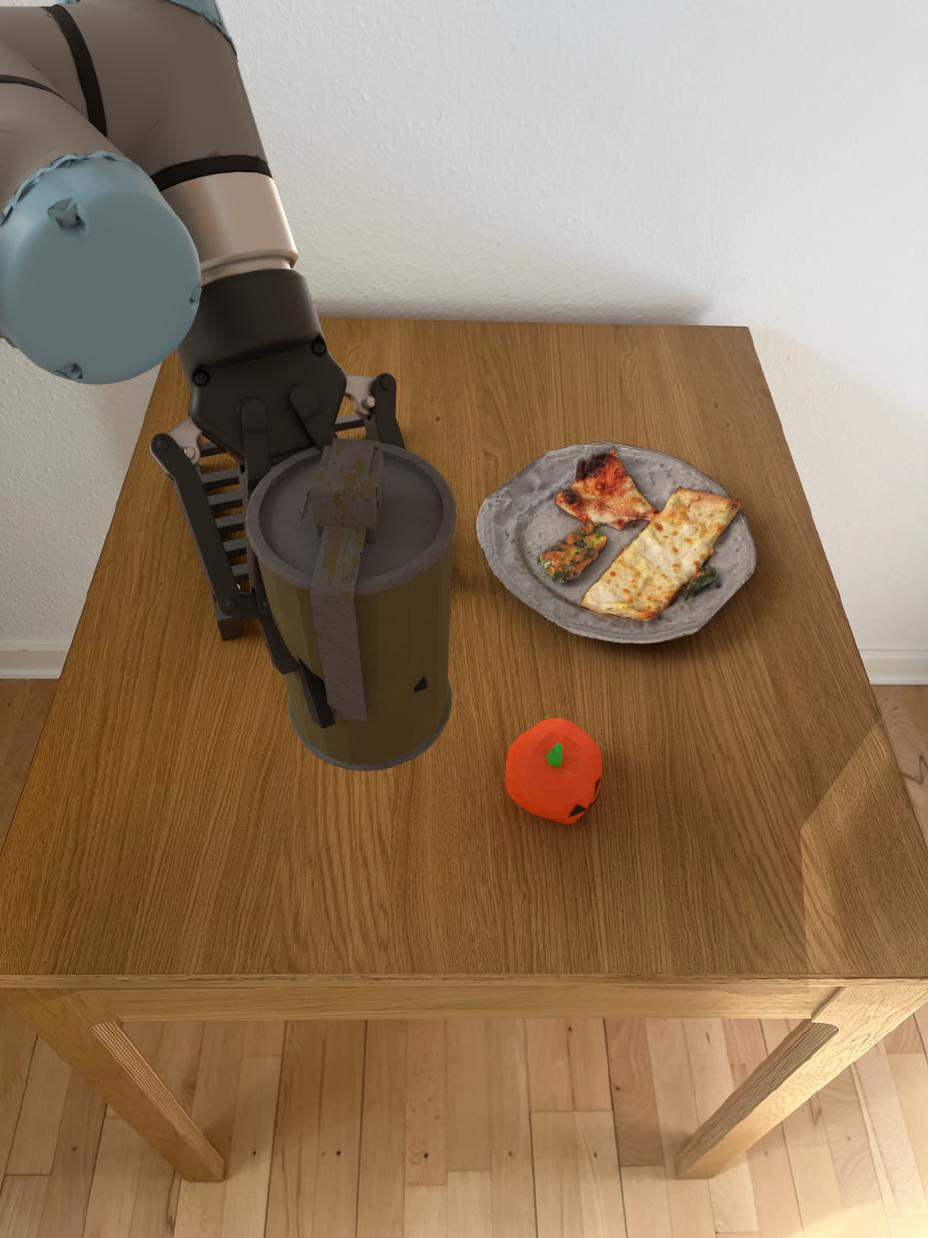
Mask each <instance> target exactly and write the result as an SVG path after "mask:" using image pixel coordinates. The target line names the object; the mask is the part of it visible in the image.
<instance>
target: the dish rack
mask: <svg viewBox="0 0 928 1238" xmlns="http://www.w3.org/2000/svg"><path fill="white" fill-rule="evenodd" d="M359 428H365V425H364V417H360V416H358V415H357V414H356V413H354V414H348V415H343V416H337V420H336V423H335V426H334V429H333V430H334V431H335V433H339V432H343V431H349V430H353V429H359ZM197 445H198V448H199V450H200V459H202V458H207V457H212V456H218V455H222V454H227V453H226V452H224V451H223V450H222V449H220V448H219V447H218V446H216V445H215V444H214V443H212V442H211V441H210V440H208V441H205V442H203V438H202V434H200V435H199V436H198V438H197ZM194 466H195V468H196V470H197V472H198V474H199V476H200V478H201V481H202V483H203V486H204V489H205V492H206V493H207V491H211V490H217V489H221V488H226V487H231V486H236V485H240V482H239V471H238V467H233V468H229V469H224V470H220V471H214V472H208V473H204V474H202V471H201V466H200V463H199V461H198V462H197V463H196V464H195V465H194ZM274 467H275V466H274ZM274 467H272V468H271V470H272V469H273V468H274ZM207 498H208V501H209V504H210V507H211V510H212V513H213V514H214V513H217V512H221V511H226V510H233V509H237V508H241V507H242V508H243V503H242V492H241V489H238V490H233V491H229V492H224V493H219V494H218V493H217V494H213V495H209V496H208V495H207ZM215 521H216V524H217V527H218V530H219V533H220V536H223V535H227V534H231V533H237V532H242V531H245V526H244V514H243V512H242V513H236V514H233V515H228V516H222V517H217V518H215ZM222 542H223V545H224V548H225V550H226V553H227V556H228V559H229V560H230V559H235V558H238V557H243V556H247V549H246V538H245V537H240V538H236V539H231V540H227V541H222ZM231 568H232V571H233V574H234V577H235V580H236V582H237V585H238V588H239V591H240V593H242V590H241V586H240V585H239V583H244V582H249V572H248V562H245V563H241V564H237V565H231ZM209 593H210V596H211V601H212V605H213V610H214V616H215V620H216V623H217V627H218V632H219V635H220V639H221V641H225V640H231V639H234V638H238V637H241V636H242V634H241V629H240V625H239V624H244V623H248V622H253V621H256V619H254V618H253V617H249V616H233V617H230V616H226V615H224V614H222V613H221V612H219V611H218V610H217V608H216V606H215V603H214V600H213V597H212V594H211V592H210V591H209Z"/></svg>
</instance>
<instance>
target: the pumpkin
mask: <svg viewBox="0 0 928 1238" xmlns="http://www.w3.org/2000/svg"><path fill="white" fill-rule="evenodd" d="M602 778H603V758H602V750H601V749H600V747H599V746H598V744H597V743H596V742H595V740H594V739H593V738H592V737H591V736H590V735H589V734H588V733H587V732H586V731H585V730H583V729H582V728H580V727H579V726H578V725H576V724H575V723H574V722H572V721H571V720H570V719H566V718H563V717H561V718H560V717H558V718H557V717H555V718H554V717H553V718H552V717H550V718H546V719H544V720H543V719H542V720H541V721H539V722H538V723H537V724H536V725H534V726H533V727H531V728H530V729H528V730H527V731H525V732H523V734H520V735H519V736H518V737H517V738H516V739H515V740H514V741H513V743H512V744H511V745H510V746H509V748H508V752H507V755H506V759H505V787H506V788H505V789H506V791H507V794H508V795H509V796H510V797H511V799H512V800H513V801H514V802H515V803H516V804H517V805H518V806H519V807H521V808H522V809H524V810H525V811H526V812H528V813H529V814H531V815H533V816H534V817H538V818H542V819H545V820H549V821H554V822H558V823H560V824H564V825H569V824H576V822H579V821H580V820H581V819H583V817H584V816H585V814H586V813H587V812H589V811H590V810H591V808H592V807H593V806H594V804H595V803H596V802H597V800H598V799H599V796H600V794H601V792H602V790H601V789H600V788H601V783H602Z"/></svg>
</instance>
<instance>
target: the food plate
mask: <svg viewBox="0 0 928 1238" xmlns="http://www.w3.org/2000/svg"><path fill="white" fill-rule="evenodd" d="M742 503H743V502H742V501H741V499H739V498H737V497H735V496H734V497H731V496H730V495H729V493H728V492H727V491H726V489H725V488H724V487H723V486H722V485H721V484H720V483H717V482H716V481H715V480H714V479H713V478H712V477H710V476H709V475H708V474H705V473H704V472H702V471H701V470H699V469H698V468H697V467H695V466H694V465H692V464H691V463H690V462H688V461H687V460H684V459H683V458H679V457H676V456H675V455H672V454H669V453H668V452H664V451H662V450H658V449H654V448H649V447H645V446H639V445H633V444H629V443H623V442H618V441H610V440H603V441H594V442H593V441H592V442H588V443H586V444H570V445H568V446H564V447H562V448H559V449H554V450H547V451H545V452H544V453H542V454H541V455H539V456H537V458H535V459H534V460H532V461H531V462H530V463H529V464H527V465H526V466H525V467H523V468H522V469H521V470H520V471H518V472H516V473H515V474H514V475H513V476H511V477H510V478H509V479H508V480H506V481H505V482H504V483H502V485H500V486H499V487H498V488H496V489H495V491H493V492H491V494H489V495H488V496H487V497H485V499H484V501H483V502H482V504H481V506H480V508H479V510H478V515H477V517H476V524H475V525H476V526H475V528H476V533H477V536H476V538H477V540H478V544H479V546H480V548H481V549H482V550H483V552H484V556H485V557H486V561H487V565H488V567H489V568H490V570H491V571H492V572H493V575H495V576H496V577H497V579H498V580H499V582H500V583H502V584H503V586H505V589H507V590H508V591H509V592H510V593H511V594H512V595H513V596H515V598H518V599H519V600H520V601H521V602H522V603H524V604H525V605H526V606H527V607H529V608H530V609H532V610H534V611H535V612H537V613H538V614H539V616H543V617H544V618H546V619H547V620H549V621H550V622H552V623H555V625H557V626H559V627H560V628H562V629H563V630H565V631H566V632H568V633H571V634H574V635H577V636H582V637H585V638H590V639H597V640H600V641H606V642H608V641H609V642H613V643H620V644H628V643H629V644H634V645H635V644H636V645H639V644H641V645H642V644H643V645H644V644H652V643H653V644H655V643H661V642H663V643H664V642H665V641H671V640H674V639H679V638H681V637H685V636H689V635H694V634H695V633H698V632H700V630H701V629H702V628H703V627H704V626H705V625H706V624H708V622H709V621H710V620H711V619H712V618H713V617H714V616H715V615H716V614H717V612H718V611H720V610H721V609H722V608H723V607H724V606H725V605H726V603H727V602H729V600H730V599H731V598H732V597H733V596H734V595H735V594H736V592H738V591H739V590H740V588H741V587H742V586H743V585H744V584H745V583H746V582H747V581H748V580H749V579H750V578H751V577H752V576H753V575H754V574H755V571H756V567H757V566H758V552H757V551H758V550H757V544H756V542H755V540H754V537H753V533H752V532H751V529H750V526H749V521H748V517H747V514H746V513H744V510H743V509H742Z"/></svg>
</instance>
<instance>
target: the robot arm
mask: <svg viewBox="0 0 928 1238" xmlns="http://www.w3.org/2000/svg"><path fill="white" fill-rule="evenodd" d="M238 63H239V60H238V52H237V47H236V45H235V43H234V41H233V38H232V37H231V35H230V33H229V30H228V27H227V25H226V23H225V20H224V17H223V15H222V12H221V9H220V6H219V3H218V0H56V3H55V4H53V5H41V6H39V5H38V6H33V5H32V6H28V5H27V6H26V5H25V6H24V5H23V6H22V5H21V6H15V5H14V6H13V5H12V6H11V5H10V6H9V5H8V6H7V5H3V6H1V5H0V339H4V341H6V343H7V344H8V345H10V346H11V347H12V348H13V349H17V350H19V351H20V352H21V353H22V354H23V356H25V357H26V358H27V359H28V360H29V361H30V362H32V364H34V365H35V366H37V367H39V368H40V369H42V370H44V371H45V372H48V373H50V374H51V375H54V376H56V377H59V378H61V379H65V380H68V381H73V382H75V383H77V384H82V385H90V386H91V385H93V386H96V385H98V386H102V385H110V384H111V385H113V384H118V383H123V382H125V381H129V380H131V379H134V378H137V377H139V376H140V375H143V374H145V373H147V372H149V371H151V370H152V369H154V368H156V367H157V366H159V365H160V364H162V363H163V362H164V361H165V360H166V359H168V358H169V357H170V356H171V355H172V353H174V351H176V354H177V357H178V361H179V363H180V365H181V369H182V372H183V375H184V377H185V380H186V382H187V386H188V392H189V404H188V408H187V417H186V418H185V419H183V420H181V422H179V423H178V424H176V425H175V426H174V427H172V428H170V429H169V430H168V431H167V432H166V433H165V432H164V433H163V432H162V433H160V432H159V433H157V434H155V435H154V436H153V437H152V438H151V442H150V443H149V447H148V452H149V453H148V454H149V455H150V457H151V458H152V459H153V461H154V462H155V463H156V464H157V466H158V467H159V468H160V469H161V471H162V472H163V474H164V475H165V477H167V478H168V480H169V481H170V482H171V484H172V485H173V489H174V491H175V495H176V497H177V499H178V503H179V505H180V508H181V511H182V514H183V517H184V520H185V522H186V525H187V528H188V531H189V534H190V537H191V540H192V542H193V545H194V549H195V551H196V554H197V556H198V560H199V563H200V566H201V568H202V569H201V570H202V571H203V574H204V578H205V581H206V582H207V586H208V588H209V593H210V592H211V593H210V595H211V594H212V597H213V600H214V603H215V606H216V608H217V610H218V611H219V612H221V613H222V614H224V615H226V616H230V617H233V616H249V617H253V618H254V619H256V620H255V621H256V622H257V624H258V627H259V629H260V632H261V636H262V639H263V641H264V644H265V647H266V649H267V652H268V655H269V658H270V661H271V664H272V666H273V667H274V668H275V670H276V671H277V672H279V673H280V674H281V675H282V676H284V675H285V674H288V673H291V672H294V671H296V670H299V669H300V676H301V682H302V689H303V694H304V697H305V700H306V702H307V705H308V708H309V711H310V714H311V717H312V720H313V721H314V722H315V723H316V724H317V725H318V726H320V727H321V728H322V729H324V728H327V727H329V726H332V725H334V724H336V723H335V720H334V717H333V714H332V711H331V708H330V705H329V704H328V702H327V697H326V694H325V691H324V688H323V685H322V682H321V679H320V677H318V676H317V675H315V674H314V673H312V672H311V670H310V669H309V668H308V667H307V666H306V665H305V663H304V662H303V661H302V660H301V659H300V657H299V656H298V662H299V664H298V662H297V661H296V660H295V659H294V658H293V656H292V655H291V654H290V652H289V650H288V648H287V646H286V644H285V642H284V641H283V639H282V637H281V635H280V633H279V631H278V629H277V627H276V625H275V623H274V621H273V618H272V616H273V614H272V612H271V609H270V605H269V601H268V598H267V594H266V590H265V586H264V582H263V578H262V574H261V570H260V566H259V561H258V557H257V555H256V554H255V552H254V551H253V549H252V547H251V544H250V541H249V538H248V535H247V530H246V519H245V516H246V512H247V508H248V504H249V500H250V496H251V494H252V493H253V491H254V490H255V488H256V487H257V485H258V484H259V482H260V481H261V480H262V479H263V478H264V477H265V476H266V475H267V474H268V473H269V472H270V471H271V468H272V467H274V466H276V465H277V464H279V463H280V462H282V461H284V460H285V459H287V458H289V457H290V456H292V455H294V454H297V453H299V452H301V451H304V450H306V449H309V448H311V447H314V446H316V447H317V448H318V450H319V451H320V452H321V454H323V450H324V447H325V446H331V447H332V438H335V439H337V438H339V436H338V435H337V432H335V431H334V430H333V429H334V426H335V423H336V420H337V417H339V414H340V409H341V407H342V403H343V400H344V397H345V398H347V399H348V400H349V401H350V403H351V405H352V409H353V412H354V414H357V415H358V416H360V417H364V425H365V427H364V430H365V431H364V432H365V434H366V438H367V440H373V441H379V443H384V444H390V445H395V446H398V447H400V448H402V449H405V450H407V448H406V444H405V441H404V438H403V435H402V432H401V429H400V426H399V422H398V419H397V388H398V387H397V386H398V385H397V380H396V379H395V377H394V376H393V375H392V374H391V373H388V372H382V373H380V374H378V375H377V376H365V375H356V374H355V375H354V374H346V372H345V370H344V368H343V367H342V366H341V365H340V364H339V363H338V362H337V361H336V360H335V358H334V357H333V356H332V354H331V353H330V351H329V348H328V345H327V341H326V338H325V335H324V331H323V328H322V326H321V322H320V319H319V316H318V313H317V311H316V308H315V307H316V306H315V304H314V301H313V298H312V297H313V296H312V294H311V291H310V288H309V285H308V282H307V278H306V277H305V276H304V275H303V274H301V273H300V272H299V271H297V270H295V269H293V268H294V267H295V265H296V263H297V261H298V259H299V253H298V249H297V245H296V243H295V241H294V237H293V234H292V231H291V228H290V225H289V222H288V219H287V216H286V213H285V209H284V207H283V204H282V201H281V197H280V195H279V192H278V189H277V185H276V183H275V181H274V178H273V175H272V174H273V173H272V171H271V169H270V167H269V161H268V158H267V154H266V151H265V148H264V144H263V142H262V138H261V135H260V132H259V129H258V126H257V122H256V119H255V116H254V112H253V110H252V107H251V103H250V99H249V96H248V93H247V90H246V86H245V83H244V80H243V77H242V74H241V70H240V66H239V64H238ZM200 434H201V436H203V437H204V438H205V439H207V440H208V441H211V442H212V443H214V444H215V445H216V446H218V447H219V448H220V449H222V450H223V451H224V452H226V453H225V454H227V455H228V456H230V458H232V459H234V460H235V461H236V462H237V468H238V471H239V482H240V484H239V489H240V490H241V492H242V503H243V506H242V513H243V514H244V526H245V530H244V538H246V549H247V555H246V560H247V561H246V562H247V563H248V572H249V581H248V583H249V592H241V593H240V591H239V588H238V585H239V584H238V583H237V582H236V580H235V577H234V574H233V571H232V568H231V566H232V565H231V561H230V558H229V559H228V556H227V553H226V550H225V548H224V545H223V542H224V541H223V538H222V535H220V533H219V530H218V527H217V524H216V521H215V519H216V518H215V516H214V512H213V513H212V510H211V507H210V504H209V501H208V498H207V497H208V494H207V491H206V492H205V489H204V486H203V483H202V481H201V478H200V476H199V474H198V472H197V470H196V468H195V466H194V465H195V464H196V463H197V462H199V461H200V459H201V458H200V450H199V448H198V445H197V438H198V436H199V435H200ZM237 584H238V585H237ZM212 597H211V598H212ZM427 688H428V685H427V682H426V679H425V676H424V677H423V678H422V679H421V680H420V681H419V682H418V684H417V685H416V686H415V687H414V692H419V691H421V690H424V689H427Z"/></svg>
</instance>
